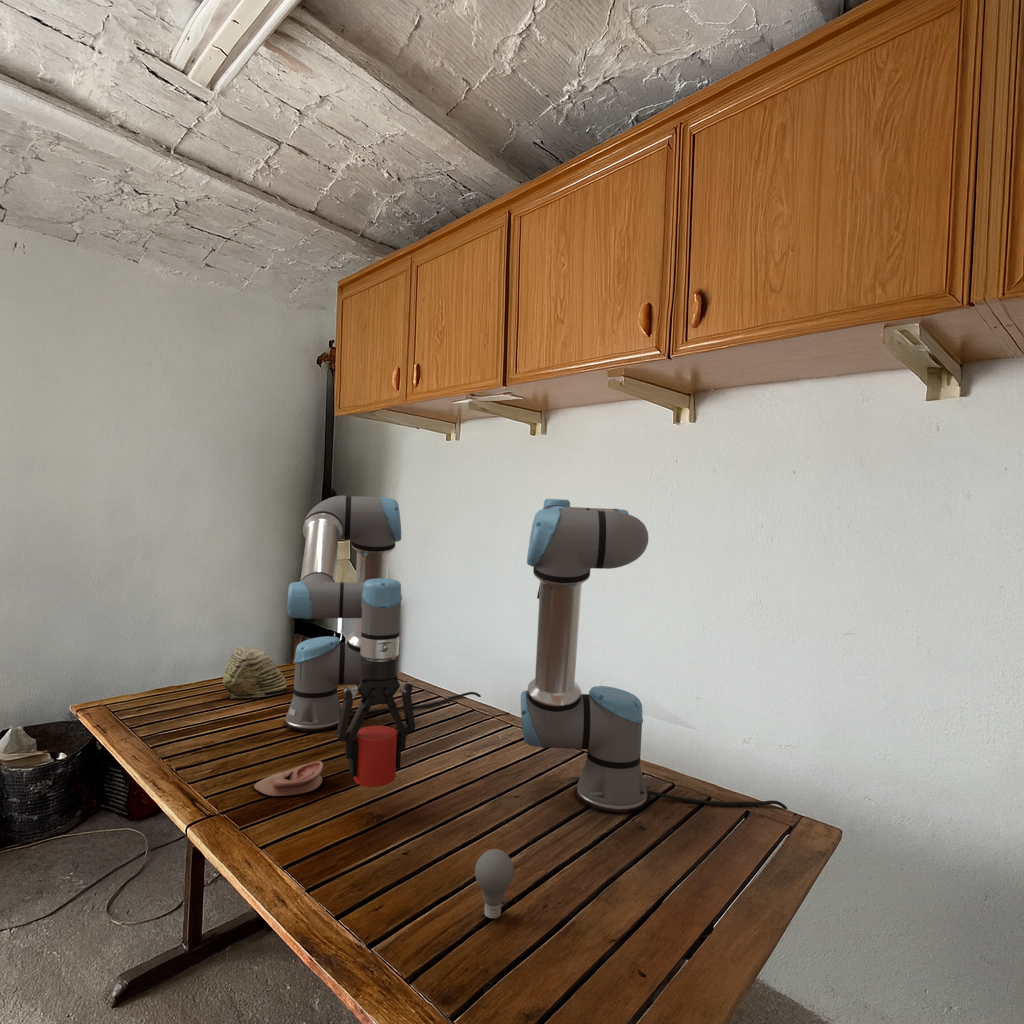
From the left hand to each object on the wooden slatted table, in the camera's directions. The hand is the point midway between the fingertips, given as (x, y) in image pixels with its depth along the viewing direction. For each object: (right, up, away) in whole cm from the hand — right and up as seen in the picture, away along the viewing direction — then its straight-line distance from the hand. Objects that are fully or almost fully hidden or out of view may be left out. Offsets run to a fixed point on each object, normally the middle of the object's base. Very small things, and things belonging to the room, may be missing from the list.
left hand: (374, 769), depth 127 cm
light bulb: (+24, -11, -29) cm, 39 cm away
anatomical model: (-21, -8, +11) cm, 26 cm away
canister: (0, -2, 0) cm, 2 cm away
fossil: (-53, -6, +71) cm, 89 cm away
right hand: (+38, +19, +50) cm, 66 cm away
